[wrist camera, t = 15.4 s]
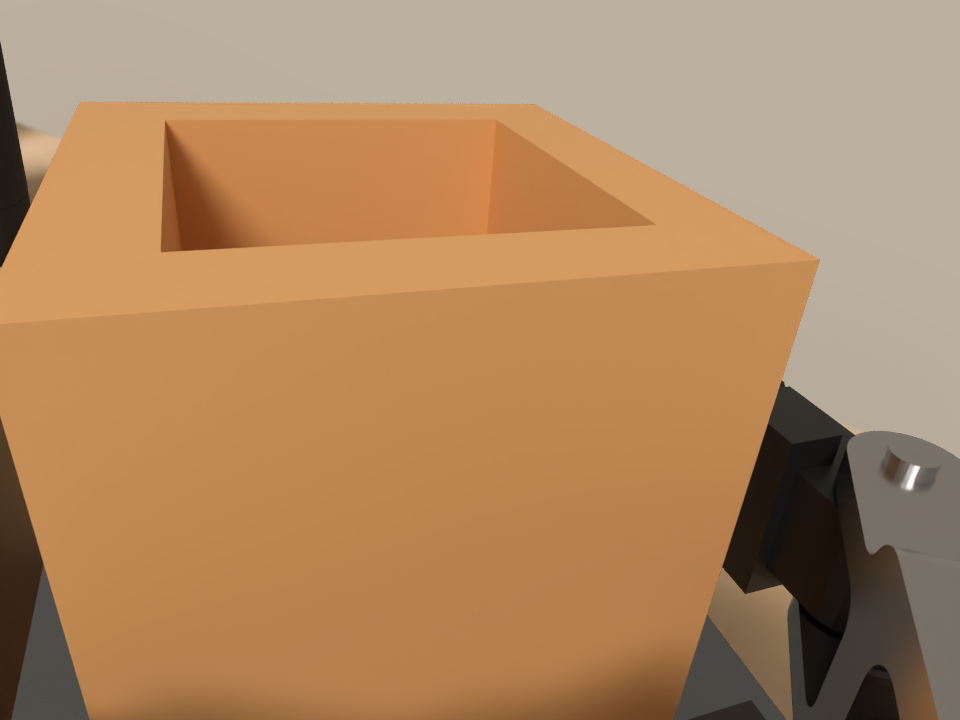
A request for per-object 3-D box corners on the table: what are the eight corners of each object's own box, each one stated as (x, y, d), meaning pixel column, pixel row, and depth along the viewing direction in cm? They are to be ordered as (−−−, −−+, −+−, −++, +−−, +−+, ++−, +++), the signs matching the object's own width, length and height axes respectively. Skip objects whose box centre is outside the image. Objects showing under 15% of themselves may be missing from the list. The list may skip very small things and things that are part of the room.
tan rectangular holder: (590, 976, 12) (819, 259, 6) (212, 1134, 10) (-27, 325, 4) (473, 678, 16) (534, 103, 10) (199, 749, 14) (79, 102, 8)
